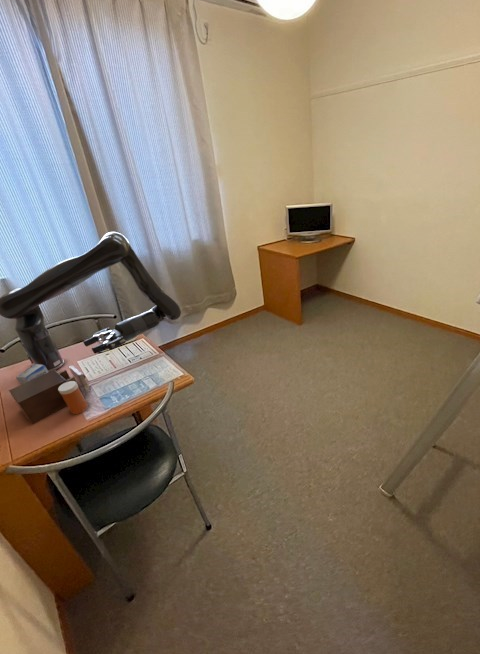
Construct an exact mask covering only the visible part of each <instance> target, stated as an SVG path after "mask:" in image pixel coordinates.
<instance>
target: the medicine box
mask: <svg viewBox="0 0 480 654" xmlns="http://www.w3.org/2000/svg"><path fill="white" fill-rule="evenodd" d="M46 373H48V371H47V369H46V367H45V365H39V364H35V365H34V364H33V365H32V366H30V367H29V368H27V369H26V370H24V371H23V372H21V373H20V374H18V375H17V376H16V377H15V379H16V380H17V381H18V383H19V384H20V385H22V384H24V383H26V382H28V381H31V380H33V379H35V378H37V377H40V376H42V375H44V374H46Z"/></svg>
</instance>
